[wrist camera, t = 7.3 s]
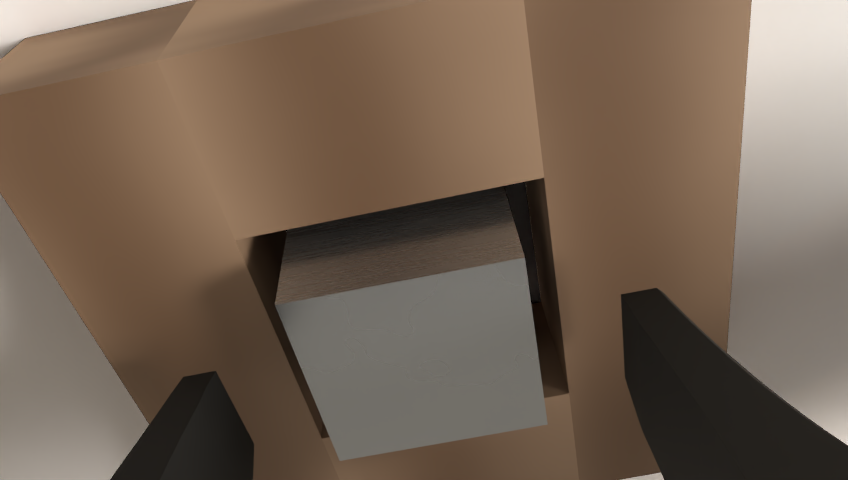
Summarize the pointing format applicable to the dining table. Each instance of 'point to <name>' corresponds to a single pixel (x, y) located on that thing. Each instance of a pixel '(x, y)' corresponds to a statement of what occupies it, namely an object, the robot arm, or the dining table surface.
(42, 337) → the dining table surface
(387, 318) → the peg
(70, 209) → the holder
